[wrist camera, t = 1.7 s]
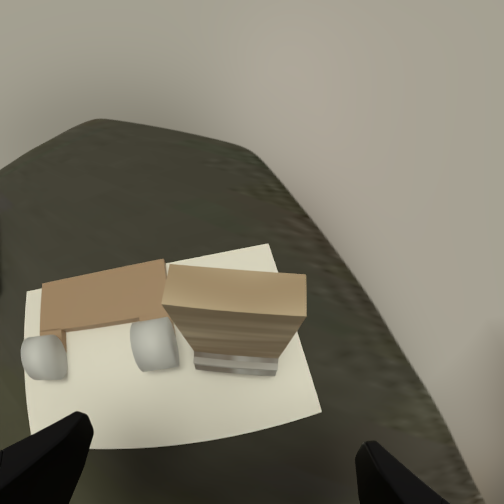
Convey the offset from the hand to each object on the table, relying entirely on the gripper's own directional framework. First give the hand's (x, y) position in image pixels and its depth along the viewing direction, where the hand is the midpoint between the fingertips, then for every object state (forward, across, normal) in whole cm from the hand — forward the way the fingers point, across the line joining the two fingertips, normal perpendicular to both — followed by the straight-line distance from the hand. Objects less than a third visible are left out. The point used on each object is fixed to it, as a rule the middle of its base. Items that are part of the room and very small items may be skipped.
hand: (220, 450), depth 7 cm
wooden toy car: (+12, 0, +4) cm, 12 cm away
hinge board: (+12, +7, +5) cm, 15 cm away
